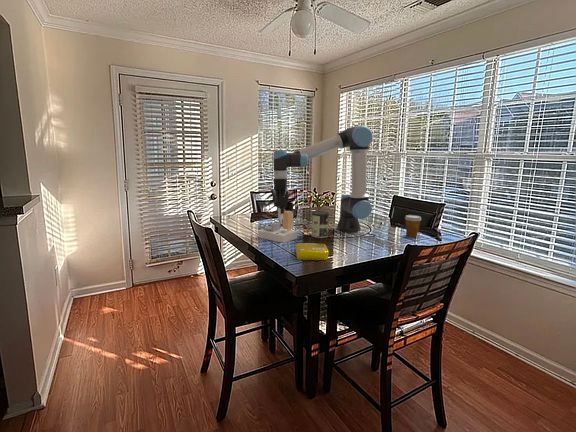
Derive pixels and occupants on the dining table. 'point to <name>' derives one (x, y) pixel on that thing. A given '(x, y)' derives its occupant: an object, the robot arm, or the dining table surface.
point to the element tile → (311, 251)
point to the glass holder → (290, 208)
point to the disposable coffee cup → (412, 225)
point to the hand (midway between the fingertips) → (280, 218)
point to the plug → (287, 220)
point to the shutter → (273, 227)
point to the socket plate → (279, 235)
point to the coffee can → (320, 224)
